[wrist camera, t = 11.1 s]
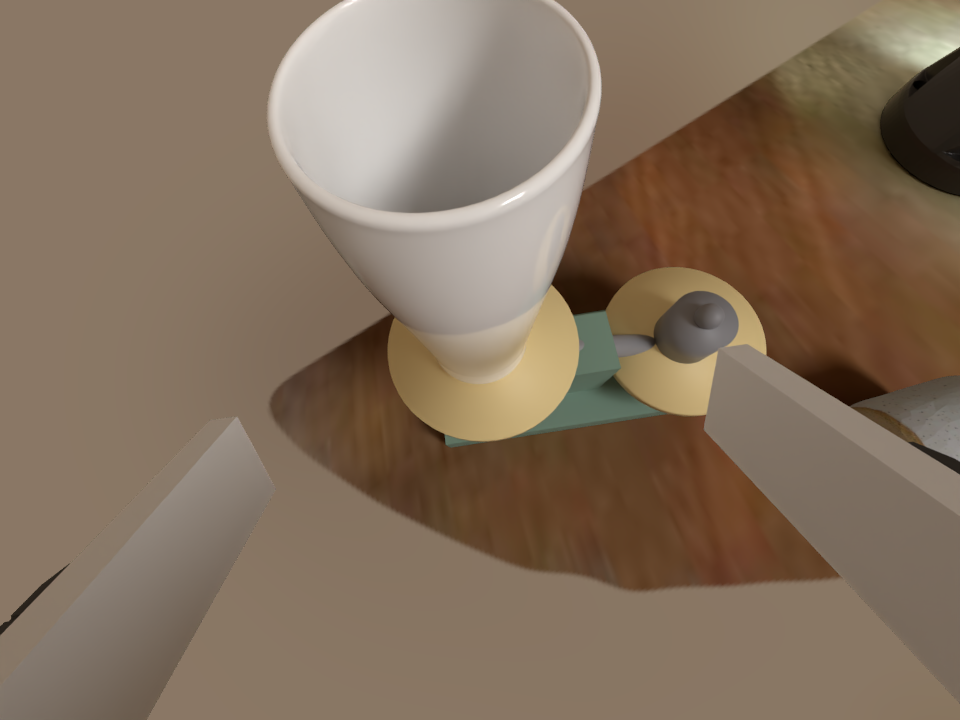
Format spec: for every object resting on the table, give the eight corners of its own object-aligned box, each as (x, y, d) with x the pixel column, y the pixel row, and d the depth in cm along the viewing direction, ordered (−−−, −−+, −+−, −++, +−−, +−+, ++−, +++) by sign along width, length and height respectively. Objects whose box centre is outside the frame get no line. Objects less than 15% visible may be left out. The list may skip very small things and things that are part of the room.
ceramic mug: (802, 413, 31) (896, 397, 24) (894, 386, 31) (1016, 361, 24) (874, 549, 28) (1006, 579, 21) (975, 518, 28) (1142, 537, 21)
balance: (689, 298, 35) (784, 209, 23) (730, 416, 31) (864, 382, 20) (421, 340, 35) (381, 274, 23) (434, 462, 32) (395, 455, 20)
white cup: (455, 272, 23) (370, -63, 9) (558, 315, 22) (660, 6, 7) (400, 368, 21) (187, 154, 7) (508, 420, 20) (515, 288, 6)
